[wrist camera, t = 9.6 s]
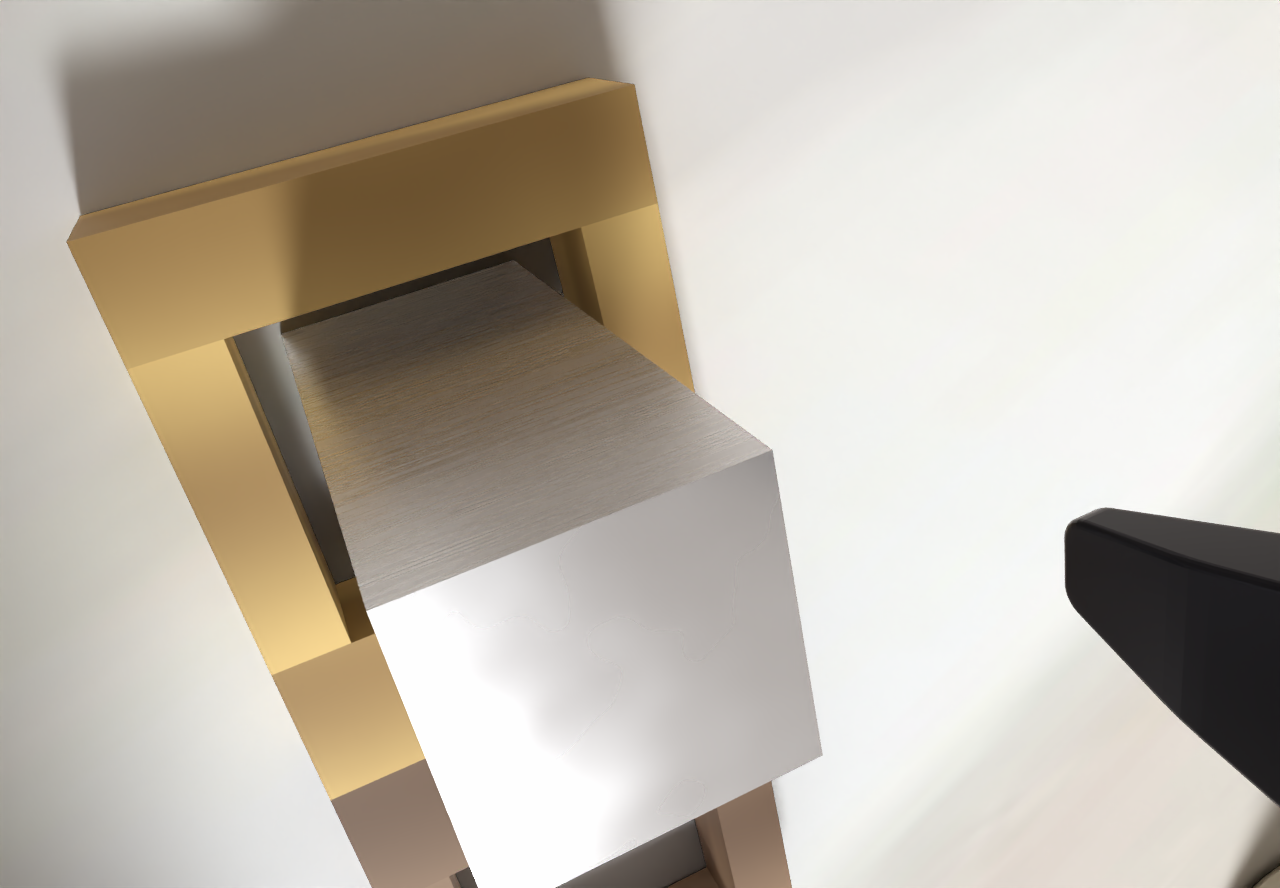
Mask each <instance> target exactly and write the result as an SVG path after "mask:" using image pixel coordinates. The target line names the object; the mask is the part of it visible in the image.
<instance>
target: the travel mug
mask: <svg viewBox="0 0 1280 888" xmlns="http://www.w3.org/2000/svg"><path fill="white" fill-rule="evenodd" d="M1253 888H1280V866H1279V867H1277V868H1276V869H1274V870H1273V871H1272V872H1270V873H1269V874H1267V875H1266V876H1265V877H1263V878H1262V879H1261V880H1260V881H1259V882H1258V883H1257V884H1256V885H1255V886H1254V887H1253Z"/></svg>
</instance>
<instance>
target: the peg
mask: <svg viewBox="0 0 1280 888" xmlns="http://www.w3.org/2000/svg"><path fill="white" fill-rule="evenodd" d="M281 336H282V339H283V342H284V345H285V349H286V352H287V355H288V358H289V362H290V365H291V368H292V371H293V375H294V378H295V381H296V384H297V388H298V391H299V394H300V397H301V401H302V404H303V407H304V410H305V414H306V417H307V420H308V423H309V427H310V430H311V433H312V436H313V440H314V443H315V446H316V449H317V453H318V456H319V459H320V462H321V466H322V469H323V472H324V475H325V479H326V482H327V485H328V488H329V492H330V495H331V498H332V501H333V505H334V508H335V511H336V514H337V518H338V521H339V524H340V527H341V531H342V534H343V537H344V540H345V543H346V547H347V550H348V553H349V556H350V560H351V563H352V566H353V569H354V573H355V576H356V579H357V582H358V586H359V589H360V592H361V595H362V599H363V602H364V605H365V608H366V612H367V614H368V617H369V619H370V621H371V624H372V626H373V629H374V631H375V634H376V636H377V639H378V641H379V644H380V646H381V649H382V651H383V654H384V656H385V658H386V661H387V663H388V666H389V668H390V671H391V673H392V676H393V678H394V681H395V683H396V686H397V688H398V691H399V693H400V695H401V698H402V700H403V703H404V705H405V708H406V710H407V713H408V715H409V718H410V720H411V723H412V725H413V728H414V730H415V733H416V735H417V737H418V740H419V742H420V745H421V747H422V750H423V752H424V755H425V757H426V760H427V762H428V765H429V767H430V770H431V772H432V774H433V777H434V779H435V782H436V784H437V787H438V789H439V792H440V794H441V797H442V799H443V802H444V804H445V807H446V809H447V811H448V814H449V816H450V819H451V821H452V824H453V826H454V829H455V831H456V834H457V836H458V839H459V841H460V844H461V846H462V849H463V851H464V853H465V856H466V858H467V861H468V863H469V866H470V868H471V871H472V873H473V876H474V878H475V881H476V883H477V886H478V888H555V887H557V886H559V885H561V884H563V883H565V882H567V881H569V880H571V879H573V878H575V877H577V876H579V875H581V874H583V873H585V872H588V871H590V870H592V869H594V868H596V867H598V866H600V865H602V864H604V863H606V862H608V861H610V860H612V859H614V858H616V857H618V856H620V855H622V854H624V853H626V852H628V851H630V850H632V849H634V848H636V847H638V846H640V845H642V844H644V843H646V842H648V841H650V840H652V839H654V838H656V837H658V836H660V835H662V834H664V833H666V832H668V831H670V830H672V829H675V828H677V827H679V826H681V825H683V824H685V823H687V822H689V821H691V820H693V819H695V818H697V817H699V816H701V815H703V814H705V813H707V812H709V811H711V810H713V809H715V808H717V807H719V806H721V805H723V804H725V803H727V802H729V801H731V800H733V799H735V798H737V797H739V796H741V795H743V794H745V793H747V792H749V791H751V790H753V789H755V788H757V787H759V786H761V785H764V784H766V783H768V782H770V781H772V780H774V779H776V778H778V777H780V776H782V775H784V774H786V773H788V772H790V771H792V770H794V769H796V768H798V767H800V766H802V765H804V764H806V763H808V762H810V761H812V760H814V759H816V758H818V757H820V756H822V749H821V743H820V737H819V731H818V725H817V719H816V712H815V706H814V700H813V694H812V688H811V682H810V676H809V670H808V664H807V658H806V652H805V646H804V639H803V633H802V627H801V621H800V615H799V609H798V603H797V597H796V591H795V585H794V579H793V573H792V566H791V560H790V554H789V548H788V542H787V536H786V530H785V524H784V518H783V512H782V506H781V500H780V493H779V487H778V481H777V475H776V469H775V463H774V457H773V451H772V449H770V448H769V447H768V446H766V445H765V444H764V443H762V442H761V441H760V440H758V439H757V438H755V437H754V436H753V435H751V434H750V433H749V432H747V431H746V430H745V429H743V428H742V427H740V426H739V425H738V424H736V423H735V422H734V421H732V420H731V419H730V418H728V417H727V416H725V415H724V414H723V413H721V412H720V411H719V410H717V409H716V408H715V407H713V406H712V405H710V404H709V403H708V402H706V401H705V400H704V399H702V398H701V397H699V396H698V395H697V394H695V393H694V392H693V391H691V390H690V389H689V388H687V387H686V386H684V385H683V384H682V383H680V382H679V381H678V380H676V379H675V378H674V377H672V376H671V375H669V374H668V373H667V372H665V371H664V370H663V369H661V368H660V367H659V366H657V365H656V364H654V363H653V362H652V361H650V360H649V359H648V358H646V357H645V356H644V355H642V354H641V353H639V352H638V351H637V350H635V349H634V348H633V347H631V346H630V345H629V344H627V343H626V342H624V341H623V340H622V339H620V338H619V337H618V336H616V335H615V334H614V333H612V332H611V331H609V330H608V329H607V328H605V327H604V326H603V325H601V324H600V323H599V322H597V321H596V320H594V319H593V318H592V317H590V316H589V315H588V314H586V313H585V312H584V311H582V310H581V309H579V308H578V307H577V306H575V305H574V304H573V303H571V302H570V301H568V300H567V299H566V298H564V297H563V296H562V295H560V294H559V293H558V292H556V291H555V290H553V289H552V288H551V287H549V286H548V285H547V284H545V283H544V282H543V281H541V280H540V279H538V278H537V277H536V276H534V275H533V274H532V273H530V272H529V271H528V270H526V269H525V268H523V267H522V266H521V265H519V264H518V263H517V262H515V261H514V260H512V261H509V262H506V263H503V264H500V265H497V266H493V267H490V268H487V269H484V270H481V271H478V272H475V273H471V274H468V275H465V276H462V277H459V278H456V279H453V280H449V281H446V282H443V283H440V284H437V285H434V286H431V287H427V288H424V289H421V290H418V291H415V292H412V293H409V294H405V295H402V296H399V297H396V298H393V299H390V300H387V301H383V302H380V303H377V304H374V305H371V306H368V307H364V308H361V309H358V310H355V311H352V312H349V313H346V314H342V315H339V316H336V317H333V318H330V319H327V320H324V321H320V322H317V323H314V324H311V325H308V326H305V327H302V328H298V329H295V330H292V331H289V332H286V333H283V334H281Z"/></svg>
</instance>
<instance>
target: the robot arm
mask: <svg viewBox="0 0 1280 888" xmlns="http://www.w3.org/2000/svg"><path fill="white" fill-rule="evenodd" d="M1064 545H1065V589H1066V593H1067V596H1068V598H1069V600H1070V602H1071V604H1072V605H1073V607H1074V608H1075V610H1076V611H1077V612H1078V613H1079V614H1080V615H1081V617H1082V618H1083V619H1084V620H1085V621H1086V622H1087V623H1088V624H1089V625H1090V626H1091V627H1092V628H1093V629H1094V630H1095V631H1096V632H1097V633H1098V634H1099V636H1100V637H1101V638H1102V639H1103V640H1104V641H1105V642H1106V643H1107V644H1108V645H1109V646H1110V647H1111V648H1112V649H1113V650H1114V651H1115V652H1116V653H1117V655H1118V656H1119V657H1120V658H1121V659H1122V660H1123V661H1124V662H1125V663H1126V664H1127V665H1128V666H1129V667H1130V668H1131V669H1132V670H1133V671H1134V672H1135V674H1136V675H1137V676H1138V677H1139V678H1140V679H1141V680H1142V681H1143V682H1144V683H1145V684H1146V685H1147V686H1148V687H1149V688H1150V689H1151V690H1152V691H1153V693H1154V694H1155V695H1156V696H1157V697H1158V698H1159V699H1160V700H1161V701H1162V702H1163V703H1164V704H1165V705H1166V706H1167V707H1168V708H1169V709H1170V710H1171V711H1172V712H1173V713H1174V714H1175V715H1176V716H1177V717H1178V718H1179V719H1180V720H1181V721H1182V722H1183V723H1184V724H1185V725H1187V726H1188V727H1189V728H1190V729H1191V730H1192V731H1193V732H1194V733H1195V734H1196V735H1198V736H1199V737H1200V738H1201V739H1202V740H1203V741H1204V742H1205V743H1207V744H1208V745H1209V746H1210V747H1211V748H1212V749H1213V750H1215V751H1216V752H1217V753H1218V754H1219V755H1220V756H1221V757H1223V758H1224V759H1225V760H1226V761H1227V762H1228V763H1229V764H1231V765H1232V766H1233V767H1234V768H1235V769H1236V770H1237V771H1239V772H1240V773H1241V774H1242V775H1243V776H1244V777H1245V778H1247V779H1248V780H1249V781H1250V782H1251V783H1252V784H1253V785H1255V786H1256V787H1257V788H1258V789H1259V790H1260V791H1261V792H1263V793H1264V794H1265V795H1266V796H1267V797H1268V798H1270V799H1271V800H1272V801H1273V802H1274V803H1275V804H1276V805H1278V806H1279V807H1280V533H1274V532H1267V531H1261V530H1254V529H1247V528H1241V527H1234V526H1227V525H1221V524H1214V523H1207V522H1201V521H1194V520H1187V519H1181V518H1174V517H1167V516H1161V515H1154V514H1147V513H1141V512H1134V511H1127V510H1121V509H1114V508H1100V509H1096V510H1094V511H1092V512H1090V513H1087V514H1085V515H1083V516H1081V517H1079V518H1076V519H1074V520H1073V521H1071V522H1070V523H1069V524H1068V526H1067V528H1066V530H1065V536H1064Z"/></svg>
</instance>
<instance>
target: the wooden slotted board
mask: <svg viewBox="0 0 1280 888" xmlns="http://www.w3.org/2000/svg"><path fill="white" fill-rule="evenodd" d="M548 237H550V241H551V245H552V249H553V253H554V257H555V261H556V265H557V269H558V273H559V277H560V281H561V285H562V289H563V294H564V298H566V299H567V300H568V301H570V302H571V303H573V304H574V305H575V306H577V307H578V308H579V309H581V310H582V311H584V312H585V313H586V314H588V315H589V316H590V317H592V318H593V319H594V320H596V321H597V322H599V323H600V324H601V325H603V326H604V327H605V328H607V329H608V330H609V331H611V332H612V333H614V334H615V335H616V336H618V337H619V338H620V339H622V340H623V341H624V342H626V343H627V344H629V345H630V346H631V347H633V348H634V349H635V350H637V351H638V352H639V353H641V354H642V355H644V356H645V357H646V358H648V359H649V360H650V361H652V362H653V363H654V364H656V365H657V366H659V367H660V368H661V369H663V370H664V371H665V372H667V373H668V374H669V375H671V376H672V377H674V378H675V379H676V380H678V381H679V382H680V383H682V384H683V385H684V386H686V387H687V388H689V389H690V390H691V391H693V392H694V393H695V391H694V386H693V381H692V376H691V371H690V365H689V360H688V355H687V350H686V345H685V340H684V335H683V330H682V325H681V320H680V315H679V309H678V304H677V299H676V294H675V289H674V284H673V279H672V274H671V269H670V264H669V258H668V253H667V248H666V243H665V238H664V233H663V228H662V223H661V218H660V213H659V208H658V202H657V197H656V192H655V187H654V182H653V177H652V172H651V167H650V162H649V157H648V151H647V146H646V141H645V136H644V131H643V126H642V121H641V116H640V111H639V106H638V101H637V95H636V90H635V85H634V84H628V83H622V82H615V81H608V80H602V79H595V78H585V79H581V80H578V81H574V82H570V83H567V84H563V85H559V86H556V87H552V88H548V89H545V90H541V91H537V92H534V93H530V94H526V95H522V96H519V97H515V98H511V99H508V100H504V101H500V102H497V103H493V104H489V105H486V106H482V107H478V108H475V109H471V110H467V111H464V112H460V113H456V114H453V115H449V116H445V117H442V118H438V119H434V120H431V121H427V122H423V123H420V124H416V125H412V126H409V127H405V128H401V129H398V130H394V131H390V132H387V133H383V134H379V135H376V136H372V137H368V138H364V139H361V140H357V141H353V142H350V143H346V144H342V145H339V146H335V147H331V148H328V149H324V150H320V151H317V152H313V153H309V154H306V155H302V156H298V157H295V158H291V159H287V160H284V161H280V162H276V163H273V164H269V165H265V166H262V167H258V168H254V169H251V170H247V171H243V172H240V173H236V174H232V175H229V176H225V177H221V178H218V179H214V180H210V181H206V182H203V183H199V184H195V185H192V186H188V187H184V188H181V189H177V190H173V191H170V192H166V193H162V194H159V195H155V196H151V197H148V198H144V199H140V200H137V201H133V202H129V203H126V204H122V205H118V206H115V207H111V208H107V209H104V210H100V211H96V212H93V213H89V214H85V215H82V216H80V217H79V219H78V221H77V223H76V225H75V227H74V228H73V230H72V232H71V234H70V236H69V238H68V240H67V244H68V246H69V248H70V251H71V253H72V255H73V257H74V259H75V261H76V263H77V265H78V268H79V270H80V272H81V274H82V276H83V278H84V280H85V282H86V284H87V287H88V289H89V291H90V293H91V295H92V297H93V299H94V301H95V303H96V306H97V308H98V310H99V312H100V314H101V316H102V318H103V320H104V322H105V325H106V327H107V329H108V331H109V333H110V335H111V337H112V339H113V341H114V344H115V346H116V348H117V350H118V352H119V354H120V356H121V358H122V360H123V363H124V365H125V367H126V369H127V371H128V373H129V375H130V377H131V379H132V382H133V384H134V386H135V388H136V390H137V392H138V394H139V396H140V399H141V401H142V403H143V405H144V407H145V409H146V411H147V413H148V415H149V418H150V420H151V422H152V424H153V426H154V428H155V430H156V432H157V434H158V437H159V439H160V441H161V443H162V445H163V447H164V449H165V451H166V453H167V456H168V458H169V460H170V462H171V464H172V466H173V468H174V470H175V472H176V475H177V477H178V479H179V481H180V483H181V485H182V487H183V489H184V491H185V494H186V496H187V498H188V500H189V502H190V504H191V506H192V508H193V510H194V513H195V515H196V517H197V519H198V521H199V523H200V525H201V527H202V530H203V532H204V534H205V536H206V538H207V540H208V542H209V544H210V546H211V549H212V551H213V553H214V555H215V557H216V559H217V561H218V563H219V565H220V568H221V570H222V572H223V574H224V576H225V578H226V580H227V582H228V584H229V587H230V589H231V591H232V593H233V595H234V597H235V599H236V601H237V603H238V606H239V608H240V610H241V612H242V614H243V616H244V618H245V620H246V622H247V625H248V627H249V629H250V631H251V633H252V635H253V637H254V639H255V641H256V644H257V646H258V648H259V650H260V652H261V654H262V656H263V658H264V661H265V663H266V665H267V667H268V669H269V671H270V673H271V675H272V677H273V680H274V682H275V684H276V686H277V688H278V690H279V692H280V694H281V696H282V699H283V701H284V703H285V705H286V707H287V709H288V711H289V713H290V715H291V718H292V720H293V722H294V724H295V726H296V728H297V730H298V732H299V734H300V737H301V739H302V741H303V743H304V745H305V747H306V749H307V751H308V753H309V756H310V758H311V760H312V762H313V764H314V766H315V768H316V770H317V772H318V775H319V777H320V779H321V781H322V783H323V785H324V787H325V789H326V792H327V794H328V796H329V798H330V800H331V802H332V804H333V806H334V808H335V811H336V813H337V815H338V817H339V819H340V821H341V823H342V825H343V827H344V830H345V832H346V834H347V836H348V838H349V840H350V842H351V844H352V846H353V849H354V851H355V853H356V855H357V857H358V859H359V861H360V863H361V865H362V868H363V870H364V872H365V874H366V876H367V878H368V880H369V882H370V884H371V887H372V888H461V886H460V884H459V881H458V879H457V877H456V874H455V873H457V872H459V871H461V870H464V869H466V868H468V867H470V866H469V863H468V861H467V858H466V856H465V853H464V851H463V849H462V846H461V844H460V841H459V839H458V836H457V834H456V831H455V829H454V826H453V824H452V821H451V819H450V816H449V814H448V811H447V809H446V807H445V804H444V802H443V799H442V797H441V794H440V792H439V789H438V787H437V784H436V782H435V779H434V777H433V774H432V772H431V770H430V767H429V765H428V762H427V760H426V757H425V755H424V752H423V750H422V747H421V745H420V742H419V740H418V737H417V735H416V733H415V730H414V728H413V725H412V723H411V720H410V718H409V715H408V713H407V710H406V708H405V705H404V703H403V700H402V698H401V695H400V693H399V691H398V688H397V686H396V683H395V681H394V678H393V676H392V673H391V671H390V668H389V666H388V663H387V661H386V658H385V656H384V654H383V651H382V649H381V646H380V644H379V641H378V639H377V636H376V634H375V631H374V629H373V626H372V624H371V621H370V619H369V617H368V614H367V612H366V608H365V605H364V602H363V599H362V595H361V592H360V589H359V586H358V582H357V579H356V577H355V578H352V579H349V580H347V581H344V582H342V583H339V584H336V585H335V582H334V580H333V577H332V575H331V573H330V570H329V568H328V565H327V563H326V561H325V558H324V556H323V553H322V551H321V549H320V546H319V544H318V541H317V539H316V536H315V534H314V532H313V529H312V527H311V524H310V522H309V520H308V517H307V515H306V512H305V510H304V507H303V505H302V503H301V500H300V498H299V495H298V493H297V491H296V488H295V486H294V483H293V481H292V479H291V476H290V474H289V471H288V469H287V466H286V464H285V462H284V459H283V457H282V454H281V452H280V450H279V447H278V445H277V442H276V440H275V438H274V435H273V433H272V430H271V428H270V425H269V423H268V421H267V418H266V416H265V413H264V411H263V409H262V406H261V404H260V401H259V399H258V397H257V394H256V392H255V389H254V387H253V384H252V382H251V380H250V377H249V375H248V372H247V370H246V368H245V365H244V363H243V360H242V358H241V356H240V353H239V351H238V348H237V346H236V343H235V341H234V339H233V336H235V335H239V334H242V333H245V332H248V331H251V330H255V329H258V328H261V327H264V326H267V325H271V324H274V323H277V322H280V321H283V320H286V319H290V318H293V317H296V316H299V315H302V314H306V313H309V312H312V311H315V310H318V309H322V308H325V307H328V306H331V305H334V304H338V303H341V302H344V301H347V300H350V299H354V298H357V297H360V296H363V295H366V294H370V293H373V292H376V291H379V290H382V289H385V288H389V287H392V286H395V285H398V284H401V283H405V282H408V281H411V280H414V279H417V278H421V277H424V276H427V275H430V274H433V273H437V272H440V271H443V270H446V269H449V268H453V267H456V266H459V265H462V264H465V263H469V262H472V261H475V260H478V259H481V258H484V257H488V256H491V255H494V254H497V253H500V252H504V251H507V250H510V249H513V248H516V247H520V246H523V245H526V244H529V243H532V242H536V241H539V240H542V239H545V238H548ZM695 823H696V827H697V831H698V835H699V839H700V843H701V847H702V851H703V855H704V859H705V863H706V868H704V869H702V870H700V871H698V872H696V873H694V874H692V875H690V876H688V877H686V878H684V879H682V880H680V881H678V882H676V883H674V884H672V885H670V886H669V887H667V888H792V885H791V880H790V875H789V870H788V865H787V860H786V855H785V849H784V844H783V839H782V834H781V829H780V824H779V819H778V814H777V809H776V804H775V799H774V793H773V788H772V783H771V781H770V782H768V783H766V784H764V785H761V786H759V787H757V788H755V789H753V790H751V791H749V792H747V793H745V794H743V795H741V796H739V797H737V798H735V799H733V800H731V801H729V802H727V803H725V804H723V805H721V806H719V807H717V808H715V809H713V810H711V811H709V812H707V813H705V814H703V815H701V816H699V817H697V818H695Z"/></svg>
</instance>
